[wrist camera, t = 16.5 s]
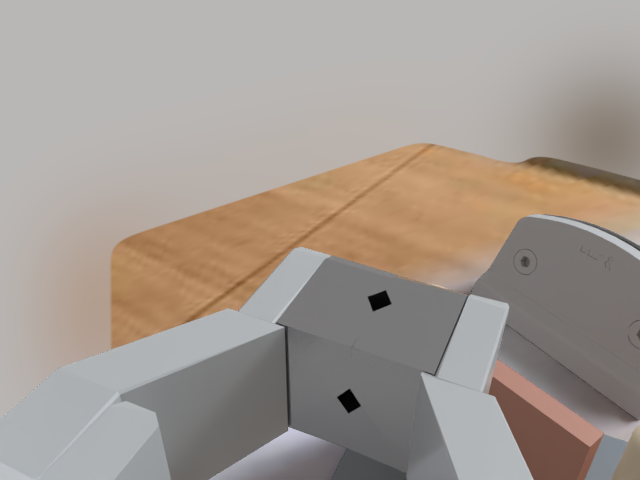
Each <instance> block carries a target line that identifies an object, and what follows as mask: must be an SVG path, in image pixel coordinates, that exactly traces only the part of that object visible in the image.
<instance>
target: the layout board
mask: <svg viewBox="0 0 640 480" xmlns="http://www.w3.org/2000/svg"><path fill="white" fill-rule="evenodd" d="M627 444H628V442H625V441H622V440H619V439H616V438H613V437H610V436H607V435H603V438H602V440H601V442H600V445H599V447H598V449H597V452H596V454H595V456H594V459H593V461H592V464H591V466H590V468H589V471H588V473H587V475H586V478H585V480H611V479H612V477H613V474H614V472H615V470H616V468H617V466H618V464H619V461H620V459H621V457H622V455H623V453H624V451H625V449H626V446H627ZM406 475H407V473H405V472H402V471H400V470H398V469H395V468H393V467H390V466H388V465H386V464H383V463H381V462H379V461H376V460H374V459H372V458H369V457H367V456H364V455H362V454H360V453H357V452H355V451H353V450H350V449H348V448H347V450H346V452H345V454H344V456H343V458H342V460H341V462H340V464H339V465H338V467H337V469H336V471H335V473H334V475H333V477H332V479H331V480H407V478H406Z"/></svg>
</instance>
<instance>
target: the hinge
mask: <svg viewBox="0 0 640 480" xmlns="http://www.w3.org/2000/svg"><path fill="white" fill-rule="evenodd" d="M471 294H472V295H476V296H480V297H484V298H488V299H492V300H496V301H500V302H504V303H508V305H509V312H508V317H507V321H506V324H507V325H508V326H510V327H511V328H512V329H514V330H515V331H516V332H518V333H519V334H521V335H522V336H523V337H525V338H526V339H527V340H529V341H530V342H531V343H533V344H534V345H536V346H537V347H538V348H540V349H541V350H542V351H544V352H545V353H547V354H548V355H549V356H551V357H552V358H553V359H555V360H556V361H557V362H559V363H560V364H562V365H563V366H564V367H566V368H567V369H568V370H570V371H571V372H573V373H574V374H575V375H577V376H578V377H579V378H581V379H582V380H584V381H585V382H586V383H588V384H589V385H590V386H592V387H593V388H594V389H596V390H597V391H599V392H600V393H601V394H603V395H604V396H605V397H607V398H608V399H610V400H611V401H612V402H614V403H615V404H616V405H618V406H619V407H621V408H622V409H623V410H625V411H626V412H627V413H629V414H630V415H631V416H633V417H634V418H636V419H637V420H640V245H639V244H637V243H635V242H633V241H631V240H629V239H627V238H625V237H623V236H621V235H619V234H617V233H615V232H612V231H610V230H608V229H605V228H603V227H600V226H597V225H594V224H591V223H588V222H585V221H581V220H577V219H572V218H568V217H562V216H554V215H546V214H544V215H539V214H533V215H530V216H527V217H524V218H522V219H520V220H519V221H518V222H517V224H516V226H515V227H514V229H513V230H512V232H511V234H510V235H509V237H508V239H507V240H506V242H505V244H504V245H503V247H502V248H501V250H500V252H499V253H498V255H497V257H496V258H495V260H494V261H493V263H492V265H491V266H490V268H489V269H488V270H487V271H486V272H485V273H484V274H483V275H482V276H481V277H480V278H479V279H478V280H477V282H476V283H475V286H474V288H473V290H472V292H471Z"/></svg>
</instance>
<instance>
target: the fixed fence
mask: <svg viewBox="0 0 640 480" xmlns="http://www.w3.org/2000/svg"><path fill="white" fill-rule="evenodd" d="M611 480H640V426H639V427H637V428H636V429H635V430H634V431H633V433H632V436H631V438H630V440H629V442H628V444H627V446H626V449H625V451H624V453H623V455H622V457H621V459H620V461H619V464H618V466H617V468H616V470H615V472H614V474H613V477H612V479H611Z"/></svg>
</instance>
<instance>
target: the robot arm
mask: <svg viewBox="0 0 640 480" xmlns="http://www.w3.org/2000/svg"><path fill="white" fill-rule="evenodd" d="M508 312H509V305H508V303H504V302H500V301H496V300H492V299H488V298H484V297H480V296H476V295H472V294H471V295H467V294H463V293H460V292H456V291H452V290H449V289H445V288H441V287H438V286H434V285H430V284H427V283H423V282H419V281H416V280H412V279H408V278H405V277H401V276H398V275H395V274H392V273H389V272H385V271H382V270H379V269H376V268H372V267H369V266H366V265H362V264H359V263H356V262H352V261H349V260H346V259H342V258H339V257H336V256H330V255H328V254H324V253H321V252H317V251H314V250H310V249H307V248H304V247H298V248H295V249H293V250H292V251H291V252H290V253H289V254H288V255H287V256H286V257H285V259H284V260H283V261H282V262H281V263H280V264H279V265H278V266H277V268H276V269H275V270H274V271H273V272H272V273H271V274H270V276H269V277H268V278H267V279H266V280H265V281H264V282H263V283H262V285H261V286H260V287H259V288H258V289H257V290H256V291H255V293H254V294H253V295H252V296H251V297H250V298H249V299H248V300H247V302H246V303H245V304H244V305H243V306H242V307H241V308H240V309H239V311H235V310H232V309H229V308H228V309H226V310H223V311H220V312H217V313H214V314H211V315H208V316H206V317H203V318H200V319H197V320H194V321H191V322H188V323H186V324H183V325H180V326H177V327H174V328H171V329H168V330H166V331H163V332H160V333H157V334H154V335H151V336H149V337H146V338H143V339H140V340H137V341H134V342H131V343H129V344H126V345H123V346H120V347H117V348H114V349H111V350H109V351H106V352H103V353H100V354H97V355H94V356H91V357H89V358H86V359H83V360H80V361H77V362H75V363H71V364H69V365H66V366H63V367H60V368H58V369H57V370H55V371H54V372H53V373H52V374H51V375H50V376H49V377H48V378H46V379H45V380H44V381H43V382H42V383H41V384H40V385H39V386H37V387H36V388H35V389H34V390H33V391H32V392H31V393H30V394H28V395H27V396H26V397H25V398H24V399H23V400H22V401H20V402H19V403H18V404H17V405H16V406H15V407H14V408H13V409H11V410H10V411H9V412H8V413H7V414H6V415H5V416H4V417H2V418H1V419H0V480H208V479H210V478H211V477H213V476H215V475H216V474H218V473H219V472H221V471H223V470H224V469H226V468H228V467H229V466H231V465H233V464H234V463H236V462H237V461H239V460H241V459H242V458H244V457H246V456H247V455H249V454H251V453H252V452H254V451H255V450H257V449H259V448H260V447H262V446H264V445H265V444H267V443H268V442H270V441H272V440H273V439H275V438H277V437H278V436H280V435H282V434H283V433H285V432H286V431H288V427H290V428H293V429H296V430H299V431H301V432H304V433H307V434H310V435H312V436H315V437H318V438H321V439H323V440H326V441H329V442H332V443H335V444H337V445H340V446H343V447H346V448H348V449H350V450H353V451H355V452H357V453H360V454H362V455H364V456H367V457H369V458H372V459H374V460H376V461H379V462H381V463H383V464H386V465H388V466H390V467H393V468H395V469H398V470H400V471H402V472H405V473H407V475H406V478H407V480H533V477H532V475H531V473H530V471H529V469H528V467H527V464H526V462H525V460H524V458H523V456H522V454H521V451H520V449H519V447H518V445H517V443H516V441H515V439H514V436H513V434H512V432H511V430H510V428H509V426H508V423H507V421H506V419H505V417H504V415H503V413H502V411H501V408H500V406H499V404H498V402H497V400H496V398H495V397H494V396H492V395H489V394H488V393H489V389H490V385H491V381H492V377H493V373H494V369H495V365H496V361H497V357H498V353H499V349H500V345H501V341H502V337H503V333H504V329H505V325H506V321H507V317H508Z"/></svg>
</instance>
